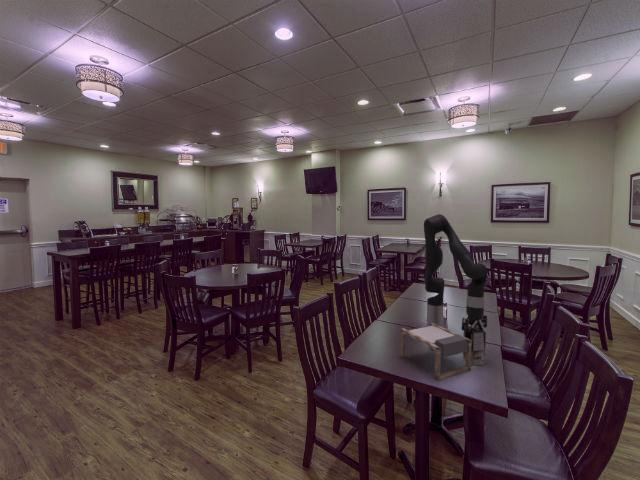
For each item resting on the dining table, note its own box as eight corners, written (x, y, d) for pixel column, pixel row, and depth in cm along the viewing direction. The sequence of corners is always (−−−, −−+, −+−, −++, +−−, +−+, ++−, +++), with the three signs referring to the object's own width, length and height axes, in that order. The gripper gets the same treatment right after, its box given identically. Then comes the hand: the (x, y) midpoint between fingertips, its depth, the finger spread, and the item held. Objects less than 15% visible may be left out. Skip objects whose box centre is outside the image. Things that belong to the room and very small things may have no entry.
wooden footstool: (470, 370, 140) (471, 340, 138) (437, 380, 132) (438, 348, 130) (431, 348, 162) (432, 322, 161) (400, 356, 154) (401, 328, 153)
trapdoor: (468, 351, 138) (469, 338, 137) (441, 358, 131) (442, 344, 131) (432, 333, 158) (432, 322, 157) (408, 339, 151) (408, 327, 151)
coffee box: (485, 365, 144) (486, 332, 143) (472, 365, 144) (473, 333, 142) (474, 356, 153) (475, 325, 152) (462, 356, 153) (463, 325, 151)
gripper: (479, 301, 152) (477, 332, 153) (457, 304, 147) (456, 337, 148) (492, 305, 145) (491, 338, 147) (471, 309, 140) (469, 343, 141)
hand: (474, 337), depth 147 cm, fingers open, 8 cm apart
